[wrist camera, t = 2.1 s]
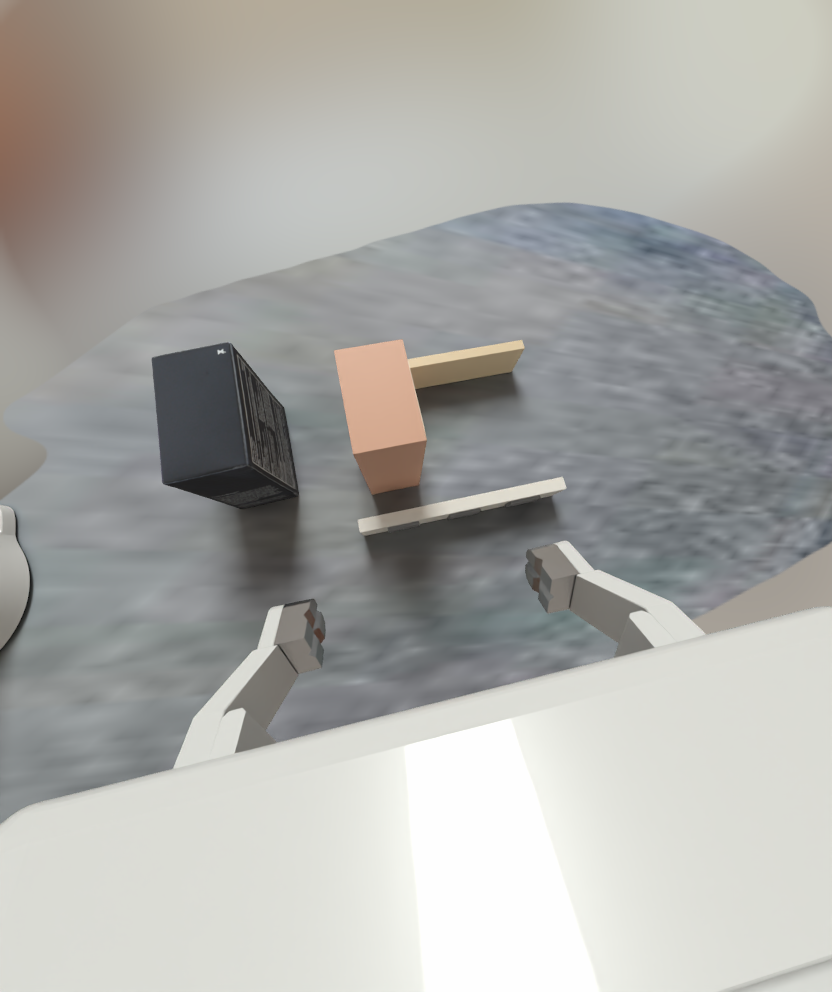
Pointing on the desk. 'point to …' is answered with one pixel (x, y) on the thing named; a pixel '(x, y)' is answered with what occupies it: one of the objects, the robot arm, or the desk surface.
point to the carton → (382, 414)
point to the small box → (221, 428)
